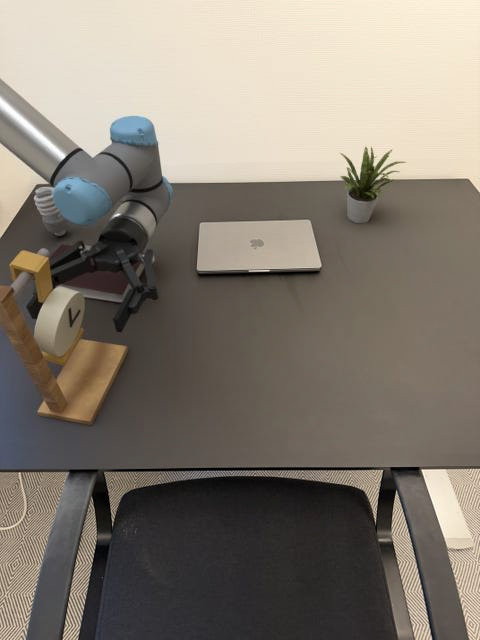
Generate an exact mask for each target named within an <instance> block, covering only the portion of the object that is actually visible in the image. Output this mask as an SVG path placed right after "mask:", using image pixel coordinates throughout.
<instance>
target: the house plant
mask: <svg viewBox="0 0 480 640" xmlns="http://www.w3.org/2000/svg"><path fill="white" fill-rule="evenodd" d="M392 152H393V149H390V150H389V151H387V152H386V153H384V155H383V156H382V157H381V158H380V160H379V161H378V162H377V164H376V165H374V164H375V159H376V158H378V155H376V156H375V154H374V149H373V146H370V155H369V148H368V147H367V146H365V147H364V149H363V153H362V161H361V167H360V173H359V175H358V172H357V170H356V167H355V165H354V163H353V161H352V160H351V159H350V158H349V157H347V155H345V154H344V153H341V152H339V154H340V155H341V156H342V157H343V158H344V159H345V160H346V162H347V164H348V166H349V167H348V166H346V170H347V175H341V176H340V178H341V179H342V180H343V181H344V182H346V183H347V184H346V185H345V186H344V187H343V189H347V192H346V193H347V194H346V207H347V209H346V212H347V213H346V216H347V219H348V220H349V221H350V222H354V223H355V224H364V223H367V222H369V221H370V220H371V216H372V215H373V212H374V209H375V207H376V205H377V202H378V200H379V198H380V194H381V193H382V189H381V188H382V187H384V186H385V185H387V184H389V183H393V182H400V180H399V179H390V178H389V176H388V175H391V174H393V173H400V171H399V170H390V171H388V172H386V173H384V172H385V171H386V170H388V169H389V168H391V167H394V166H395V165H398V164H405V163H407V161H402V160H401V161H392V162H391V163H389V164H387V165H386V166H384V167H383V168H382V166H383V165H384V164H385V162H386V161H387V159H388V158H389V157H390V154H391V153H392ZM381 168H382V169H381ZM380 169H381V170H380ZM379 176H381V177H380V178H379V179H378V177H379ZM376 179H377V180H376ZM382 182H383V183H382ZM380 183H381V184H380ZM378 184H380V185H379V186H377V185H378ZM375 186H377V187H376V188H374V187H375Z"/></svg>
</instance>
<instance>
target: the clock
mask: <svg viewBox="0 0 480 640" xmlns="http://www.w3.org/2000/svg"><path fill="white" fill-rule="evenodd" d="M8 266H9V270H10V271H9V272H10V276H11V279H12V282H14V281H15V280H16V279H17V278H18V276H19V275H20V274H21V273H22V271H26V272H29V273H32V274H34V276H35V280H34V283H35V288H37V294H38V301H39V302H41V303H43V302H44V300H45V299H46V300H45V302H44V303H43V305H42V308H41V310H40V312H39V315H38V318H37V319H36V322H35V325H34V333H33V336H34V338H35V340H36V342H37V344H38V346H39V348H40V350H41V352H42V354H43V356H44V358H45V360H46V362H50V363H53V364H57V365H60V366H63V367H64V366H65V364H66V362H67V361H68V359H69V357H70V356H71V354H72V352H73V350H74V349H75V347H76V345H77V344H78V342H79V340H80V339H82V337H83V336H84V334H85V329H84V328H82V327H81V326H82V322H83V319H84V314H85V309H86V308H85V306H86V301H85V298H84V296H83V294H82V293H81V292H78V291H75V290H71V289H68V288H65V287H61V286H60V287H57V288H55V289H54V290H53V291H52V292H51V290H52V289H53V287H52V279H51V272H50V264H49V257H48V258H47V257H44V256H41V255H38V254H37V253H35V252H31V251H27V250H24V249H22V250H20V252H19V253H18V254H17V255H16V256H15V257H14V259H13V260H12V261H11V262H10V264H9V265H8ZM34 276H33V277H34ZM50 292H51V293H50ZM49 293H50V294H49ZM47 296H48V297H47ZM46 297H47V298H46Z"/></svg>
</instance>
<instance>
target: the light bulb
mask: <svg viewBox="0 0 480 640" xmlns="http://www.w3.org/2000/svg"><path fill="white" fill-rule="evenodd" d="M53 190H54V187H53V186H42V187H41V186H40V187H39V188H36V189H35V195H34V197H33V201H34V204H35V206H36V209H37V211H38V212H39V214H40V215H41V216H42V217H41V220H42V223H43V225H44V227H45V229H46V231H47V232H49V233H53V234H54V235H55V236H58V237H62V236H64V235H65V233H66V232H67V231H66V230H67V229H68V228H69V227H70V221H68V220H67V219H66V218H65V217H64V216H63V215H62V214H61V211H60V210H59V209H58V208H56V206H55V204H54V201H53Z"/></svg>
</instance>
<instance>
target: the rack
mask: <svg viewBox="0 0 480 640" xmlns="http://www.w3.org/2000/svg"><path fill="white" fill-rule="evenodd" d="M36 254H38V255H41V256H44V257H47V258H49V257H50V256H51V253H50V251H49V250H48V249H47V248H45V247H42V248H40V249H39V250H37V252H36ZM33 277H34V274H32V273H29V272H26V271H22V273H21V274H20V275H19V276H18V278H17V279H16V280H15V281H13V282H12V284H10V286H9V285H3V284H2V285H1V284H0V325H1V327H2V329H3V331H4V333H5V334H6V336H7V338H8V340H9V341H10V343H11V345H12V347H13V348H14V350H15V352H16V353H17V356H18V358H20V360H21V362H22V365H24V368H25V369H26V371H27V373H28V375H29V376H30V377H31V380H32V381H33V383H34V385H35V387H36V389H37V390H38V392H39V394H40V395H41V398H42V399H43V401H42V403H41V404H40V406H39V408H38V410H37V413H38V415H39V416H40V417H45V418H50V419H55V420H61V421H66V422H72V423H77V424H82V425H86V426H87V425H88V426H93V424H94V422H95V420H96V418H97V416H98V415H99V412H100V410H101V408H102V406H103V404H104V402H105V399H106V397H107V395H108V393H109V392H110V389H111V387H112V385H113V384H114V381H115V379H116V376H117V375H118V372H119V371H120V368H121V367H122V364H123V362H124V361H125V358H126V356H127V354H128V352H129V347H128V346H126V345H122V344H121V345H120V344H114V343H108V342H102V341H96V340H89V339H83V338H81V339H80V340H79V342H78V344H77V345H76V347H75V349H74V350H73V352H72V354H71V356H70V357H69V359H68V361H67V362H66V364H65V366H63V367H62V369H61V371H60V372H59V374H58V375H57V377H56V378H55V375H54V373H53V371H52V370H51V368H50V366H49V364H48V361H46V360H45V358H44V356H43V354H42V352H41V350H40V348H39V346H38V344H37V342H36V340H35V338H34V333H32V330H31V328H30V327H29V325H28V323H27V320H26V318H25V317H24V315H23V313H22V311H21V309H20V307H19V305H18V303H17V301H16V300H17V299H18V297H19V295H20V294H21V293H22V292H23V291H24V289H25V288H26V287H27V285H28V284H29V283H30V281H31V280H33Z"/></svg>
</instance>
